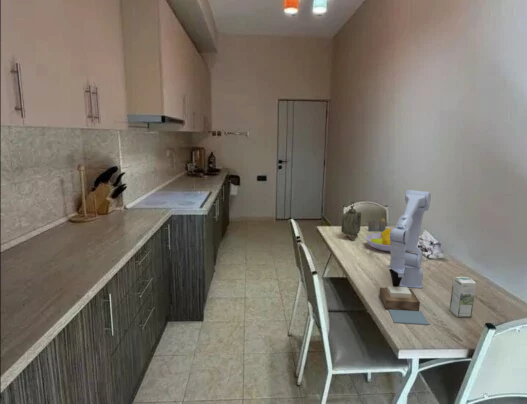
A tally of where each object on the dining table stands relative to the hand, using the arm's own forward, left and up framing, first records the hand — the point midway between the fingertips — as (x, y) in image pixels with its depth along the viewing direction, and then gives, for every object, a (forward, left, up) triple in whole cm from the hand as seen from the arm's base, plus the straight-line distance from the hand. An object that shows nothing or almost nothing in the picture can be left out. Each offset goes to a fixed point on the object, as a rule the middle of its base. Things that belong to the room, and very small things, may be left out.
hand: (395, 286), depth 151 cm
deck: (0, +6, -5) cm, 8 cm away
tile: (0, +6, -1) cm, 6 cm away
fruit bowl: (-12, -66, -5) cm, 67 cm away
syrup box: (-22, +12, -5) cm, 26 cm away
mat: (-1, +17, -5) cm, 18 cm away
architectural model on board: (-12, -106, -6) cm, 107 cm away
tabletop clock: (+9, -85, -5) cm, 86 cm away
